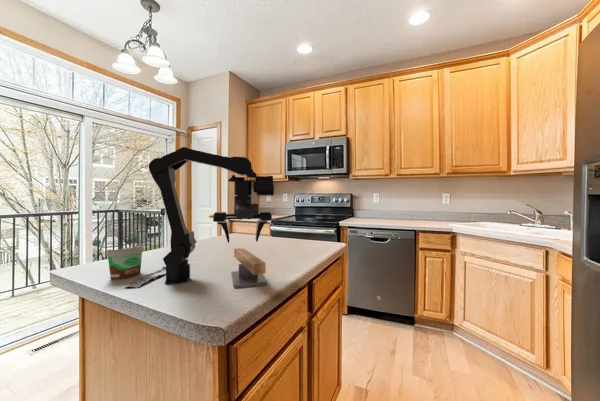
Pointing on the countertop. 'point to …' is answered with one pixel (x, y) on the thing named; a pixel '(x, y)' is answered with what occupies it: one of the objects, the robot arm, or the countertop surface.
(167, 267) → the robot arm
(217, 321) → the countertop surface
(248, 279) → the ridge stand
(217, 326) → the countertop surface
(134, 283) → the driftwood
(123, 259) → the food container
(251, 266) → the oak rod
